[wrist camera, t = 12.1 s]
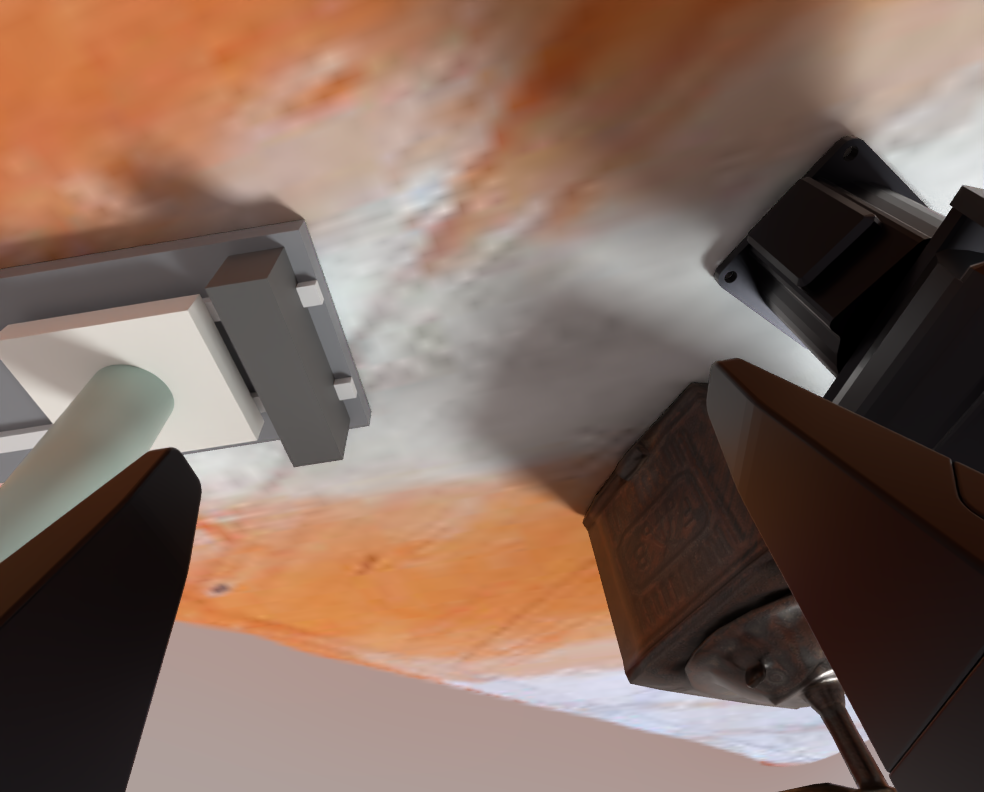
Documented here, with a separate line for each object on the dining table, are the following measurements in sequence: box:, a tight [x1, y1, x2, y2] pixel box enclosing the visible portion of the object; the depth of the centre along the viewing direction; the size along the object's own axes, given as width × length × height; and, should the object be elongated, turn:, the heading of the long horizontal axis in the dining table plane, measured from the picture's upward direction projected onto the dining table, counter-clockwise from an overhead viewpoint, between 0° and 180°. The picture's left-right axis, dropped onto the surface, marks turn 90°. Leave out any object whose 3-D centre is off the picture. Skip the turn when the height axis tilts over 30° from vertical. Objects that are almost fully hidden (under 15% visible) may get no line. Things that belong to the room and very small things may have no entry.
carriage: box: [0, 294, 264, 563], centre depth 18 cm, size 7×6×10 cm
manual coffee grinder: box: [583, 383, 897, 792], centre depth 24 cm, size 16×11×18 cm
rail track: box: [0, 219, 371, 483], centre depth 22 cm, size 19×9×4 cm, turn 98°
